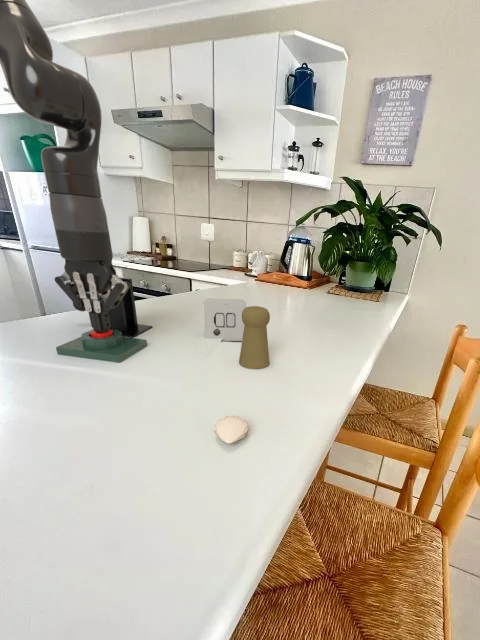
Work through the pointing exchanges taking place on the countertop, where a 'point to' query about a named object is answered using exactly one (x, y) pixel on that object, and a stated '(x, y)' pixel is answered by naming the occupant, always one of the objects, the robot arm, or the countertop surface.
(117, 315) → the switch bracket
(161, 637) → the countertop surface
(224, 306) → the electrical switch
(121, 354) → the button block
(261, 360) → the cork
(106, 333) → the push button
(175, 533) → the countertop surface
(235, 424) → the seashell
